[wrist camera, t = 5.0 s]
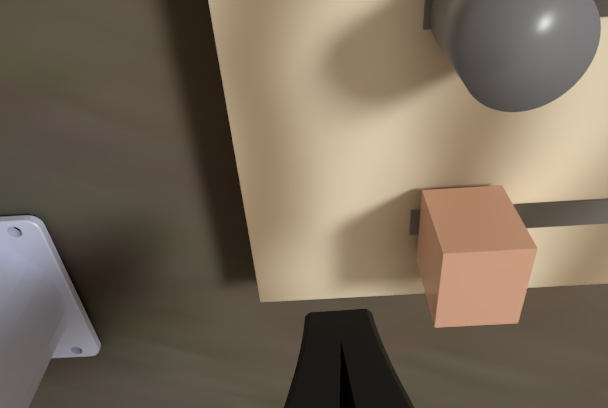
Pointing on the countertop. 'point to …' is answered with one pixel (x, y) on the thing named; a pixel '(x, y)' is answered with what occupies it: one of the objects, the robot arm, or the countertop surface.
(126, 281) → the countertop surface
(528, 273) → the matte peach cube
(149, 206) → the countertop surface
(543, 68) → the charcoal knob
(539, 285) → the control board
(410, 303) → the countertop surface
